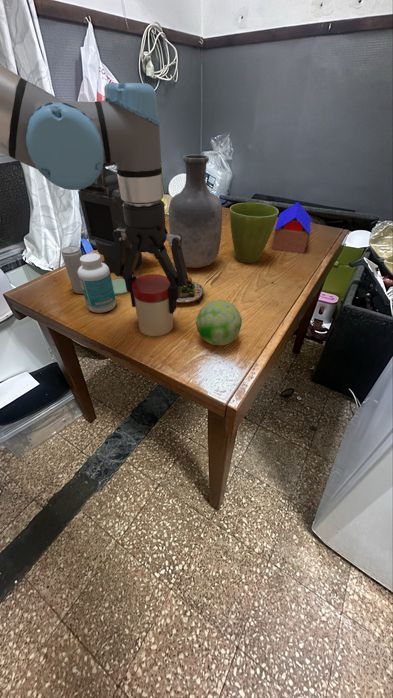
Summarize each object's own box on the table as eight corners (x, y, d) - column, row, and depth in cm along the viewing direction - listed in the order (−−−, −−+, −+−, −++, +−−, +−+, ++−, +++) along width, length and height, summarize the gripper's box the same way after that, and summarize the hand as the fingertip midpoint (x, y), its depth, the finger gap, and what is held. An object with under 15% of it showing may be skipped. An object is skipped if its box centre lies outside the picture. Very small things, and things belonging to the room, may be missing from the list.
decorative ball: (237, 328, 69) (242, 291, 63) (239, 356, 62) (245, 318, 55) (197, 326, 70) (197, 290, 63) (194, 353, 62) (194, 316, 55)
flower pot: (248, 246, 106) (254, 199, 96) (278, 260, 98) (289, 211, 87) (217, 256, 100) (220, 207, 89) (246, 272, 91) (254, 220, 80)
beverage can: (78, 296, 79) (65, 254, 71) (70, 290, 82) (57, 249, 74) (94, 290, 82) (83, 249, 74) (86, 284, 84) (75, 244, 76)
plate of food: (152, 296, 80) (149, 271, 75) (181, 281, 86) (181, 257, 81) (183, 313, 74) (183, 287, 69) (212, 295, 80) (214, 270, 75)
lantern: (122, 250, 102) (106, 149, 82) (162, 262, 95) (155, 155, 75) (90, 266, 93) (63, 156, 73) (132, 281, 86) (115, 164, 66)
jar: (146, 340, 65) (141, 299, 58) (133, 321, 71) (127, 282, 64) (179, 329, 69) (177, 289, 61) (164, 312, 74) (161, 273, 67)
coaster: (109, 297, 79) (109, 295, 78) (101, 284, 84) (100, 282, 84) (138, 290, 82) (137, 288, 82) (128, 278, 87) (128, 276, 87)
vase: (207, 251, 103) (210, 150, 83) (227, 270, 92) (237, 159, 72) (164, 258, 98) (157, 153, 78) (180, 278, 87) (177, 163, 67)
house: (271, 249, 105) (277, 215, 97) (276, 230, 119) (282, 200, 112) (304, 253, 102) (314, 219, 95) (306, 234, 117) (314, 203, 109)
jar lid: (180, 292, 63) (179, 283, 62) (148, 307, 59) (147, 298, 58) (156, 278, 68) (155, 270, 67) (125, 291, 64) (123, 282, 62)
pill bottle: (122, 302, 77) (113, 254, 68) (104, 317, 72) (92, 266, 63) (100, 296, 79) (88, 248, 70) (81, 309, 74) (66, 260, 65)
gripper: (205, 199, 52) (203, 305, 67) (100, 190, 56) (120, 292, 71) (193, 212, 46) (194, 324, 61) (78, 201, 51) (105, 308, 66)
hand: (154, 307), depth 66 cm, fingers closed on jar lid, 8 cm apart
